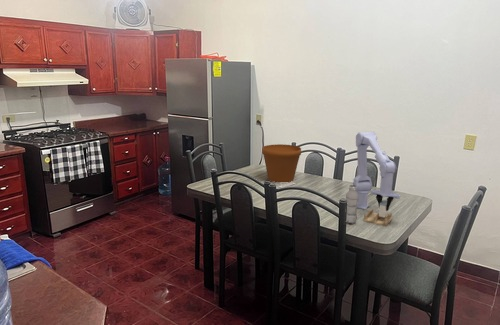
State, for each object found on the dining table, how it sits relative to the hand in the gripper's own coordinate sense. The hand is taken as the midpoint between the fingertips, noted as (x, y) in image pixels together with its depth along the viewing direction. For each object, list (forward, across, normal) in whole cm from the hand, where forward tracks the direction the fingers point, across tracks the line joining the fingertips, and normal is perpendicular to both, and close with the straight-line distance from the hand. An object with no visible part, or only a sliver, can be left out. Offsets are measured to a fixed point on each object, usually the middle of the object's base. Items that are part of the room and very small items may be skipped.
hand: (383, 209), depth 191 cm
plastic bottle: (+7, -14, -12) cm, 19 cm away
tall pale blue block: (+3, 0, 0) cm, 3 cm away
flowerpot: (+6, -82, +37) cm, 91 cm away
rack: (+6, -2, 0) cm, 7 cm away
